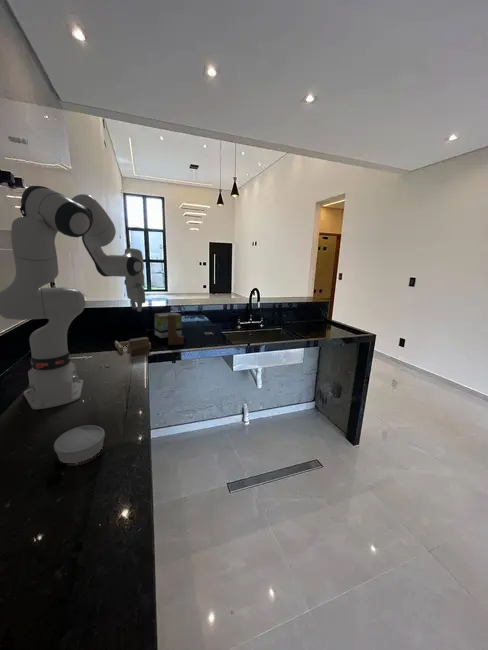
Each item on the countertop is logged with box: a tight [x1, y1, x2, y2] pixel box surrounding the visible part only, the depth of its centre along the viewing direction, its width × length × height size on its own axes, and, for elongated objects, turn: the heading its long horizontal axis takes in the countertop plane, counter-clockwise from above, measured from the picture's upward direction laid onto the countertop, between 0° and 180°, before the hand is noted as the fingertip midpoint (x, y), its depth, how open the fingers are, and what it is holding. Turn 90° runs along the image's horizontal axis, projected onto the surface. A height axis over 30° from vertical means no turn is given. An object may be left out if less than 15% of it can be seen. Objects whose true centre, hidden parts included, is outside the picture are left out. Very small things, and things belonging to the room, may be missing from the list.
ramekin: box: [53, 424, 106, 463], centre depth 70 cm, size 11×11×5 cm
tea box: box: [154, 311, 183, 339], centre depth 179 cm, size 15×10×15 cm
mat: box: [126, 351, 153, 360], centre depth 143 cm, size 8×11×1 cm
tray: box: [114, 336, 152, 354], centre depth 153 cm, size 15×16×4 cm
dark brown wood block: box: [128, 336, 150, 357], centre depth 141 cm, size 4×9×8 cm, turn 127°
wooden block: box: [167, 314, 185, 346], centre depth 161 cm, size 9×4×18 cm, turn 104°
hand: (136, 309), depth 137 cm, fingers open, 8 cm apart
